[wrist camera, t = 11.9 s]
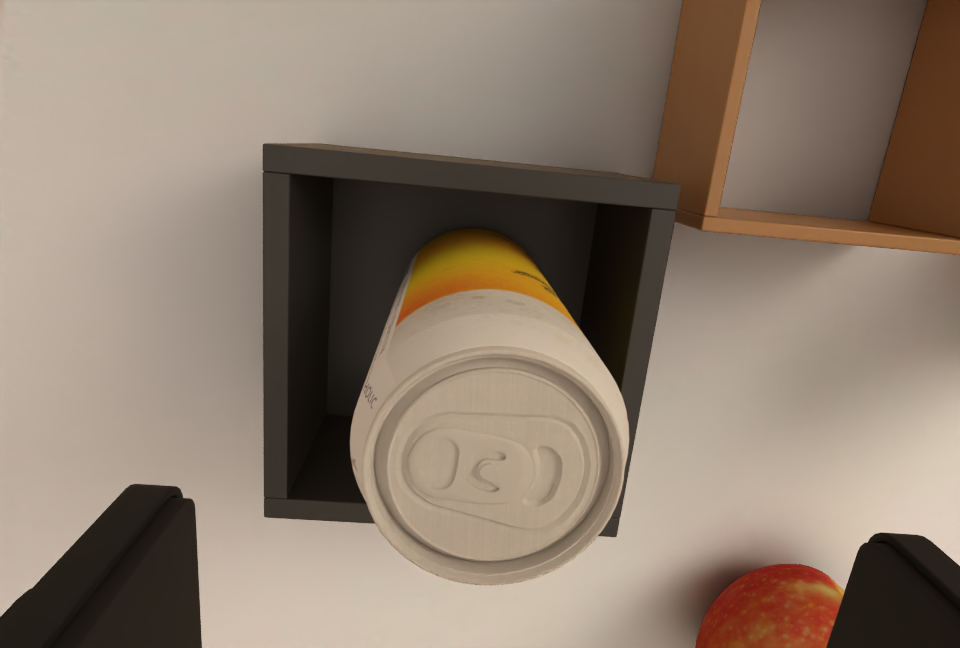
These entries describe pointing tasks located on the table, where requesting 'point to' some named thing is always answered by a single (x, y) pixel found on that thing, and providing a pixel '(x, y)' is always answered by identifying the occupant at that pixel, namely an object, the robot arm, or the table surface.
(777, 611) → the apple
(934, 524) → the table surface
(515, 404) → the beer can
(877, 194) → the wooden square frame
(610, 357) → the dark grey open box
